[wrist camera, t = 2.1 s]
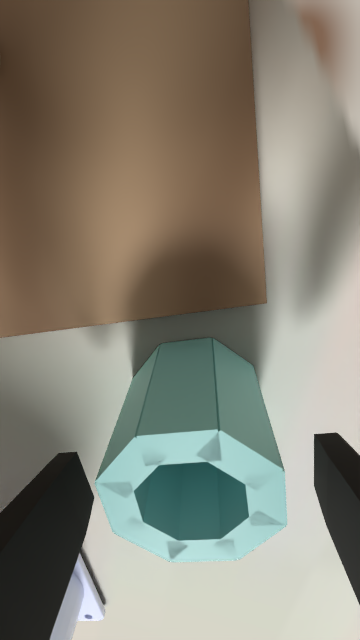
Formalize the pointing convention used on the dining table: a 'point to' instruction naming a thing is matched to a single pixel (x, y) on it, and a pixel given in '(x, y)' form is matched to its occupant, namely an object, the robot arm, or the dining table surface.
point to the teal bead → (194, 458)
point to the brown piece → (126, 162)
